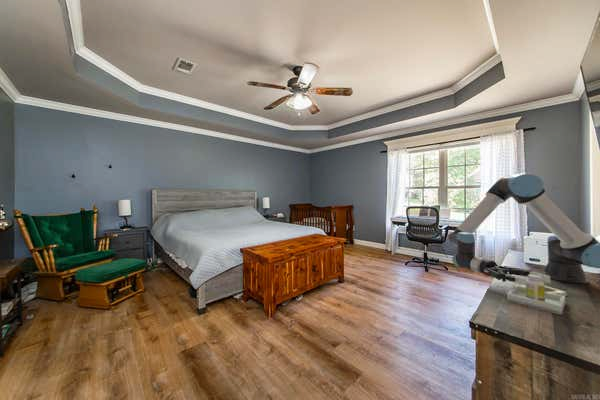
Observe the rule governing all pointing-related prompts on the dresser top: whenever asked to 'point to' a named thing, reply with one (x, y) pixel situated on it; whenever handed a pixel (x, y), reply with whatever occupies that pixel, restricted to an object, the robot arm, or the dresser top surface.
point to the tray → (550, 304)
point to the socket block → (552, 290)
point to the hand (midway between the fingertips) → (538, 280)
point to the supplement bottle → (535, 288)
